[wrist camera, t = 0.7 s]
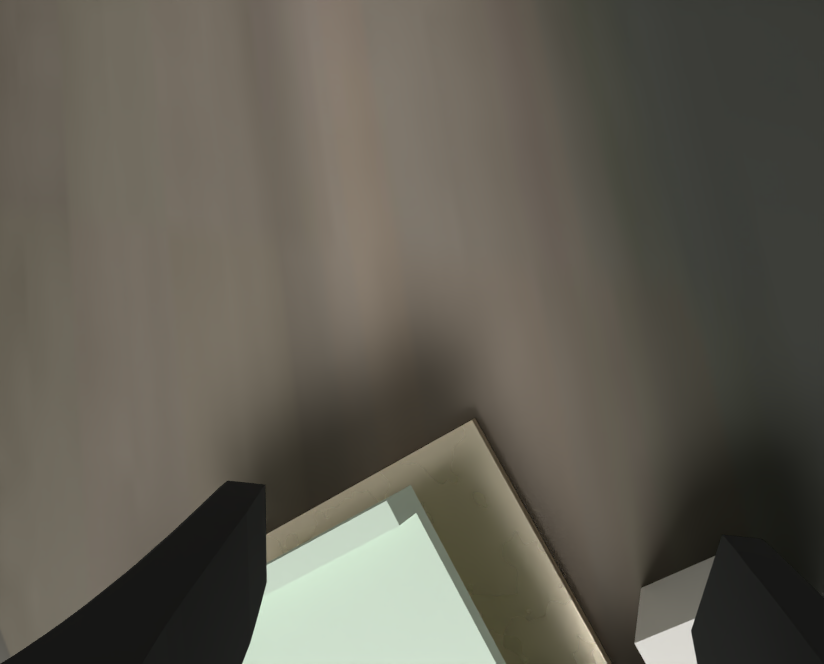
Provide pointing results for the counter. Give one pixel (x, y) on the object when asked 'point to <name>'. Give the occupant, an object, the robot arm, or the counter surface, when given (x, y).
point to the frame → (475, 546)
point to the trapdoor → (370, 597)
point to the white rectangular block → (671, 615)
